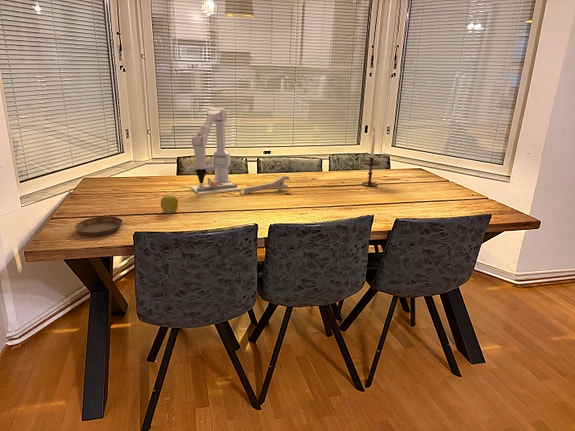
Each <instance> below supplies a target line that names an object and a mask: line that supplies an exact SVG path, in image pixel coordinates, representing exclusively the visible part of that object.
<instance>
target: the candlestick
mask: <svg viewBox="0 0 575 431" xmlns="http://www.w3.org/2000/svg"><path fill="white" fill-rule="evenodd" d="M372 128H373V134H372V135H371V144H370V145H371V146H370V156H368V158H369V159H364V160H362V161H361V163H362V164H363V165H366V166H368V167H369V171H368V172H367V175H368V176H367V178H368V181H363V182H362V183H361V186H363V187H365V188H375V187H377V186H378V183H376V182H372V178H373V176H372V175H373V174H374V173H373V172H372V170H373V167H374V166H380V165H381V164H382V163H381V161H379V160H374V159H375V158H376V157H375V156H374V155H375V145H376V144H375V143H376V133H375V132H376V131H375V130H376V129H375V127H374V126H373V127H372Z"/></svg>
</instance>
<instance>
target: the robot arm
mask: <svg viewBox="0 0 575 431" xmlns="http://www.w3.org/2000/svg"><path fill="white" fill-rule="evenodd" d="M227 116H228V115H227V111H226V109H225V108H224V107H223V108H221V107H220V108H218V107H208V108H207V109H206V118H205V120H204V124H203V125H200V127H199V129H198V131H197V133H196V135H194V136H192V138H191V145H192V149H193V152H194V153H193V154H194V165H192V166H187V167H186V171H187V172H193V171H194V172H195V173H196V176H197V178H198V182H199V184H204V180H205V177H206V174H207V170H214V178H213V180H216V181H217V182H218V183H226V182H231V180H230V179H229V167H230V166H231V163H232V159H231V153H229V151H227V150H226V130H225V128H226V127H225V123H227V120H228V118H227ZM213 124H215V132H216V133H215V134H216V135H215V136H216V151H214V152H213V155H212V163H213V164H207V162H206V159H207V158H206V157H207V156H206V146H207V145H208V140H209V139H208V138H209V135H210V133H211V127H212V126H213Z"/></svg>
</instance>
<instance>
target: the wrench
mask: <svg viewBox="0 0 575 431" xmlns="http://www.w3.org/2000/svg"><path fill="white" fill-rule="evenodd" d="M285 181H291V178H290V177H289V176H286V175H282V176H279V178H278V179H276V180H274V181H271V182H268V183H263V184H257V185H252V186H247V187H243V188H242V187H241V188H240V190H239V193H240V195H245V194H250V193H255V192H260V191H264V190H269V189H278V191H282V190H285V189H287V188H288V187H289V185H288V184H285V183H284V182H285ZM242 190H243V192H241V191H242Z"/></svg>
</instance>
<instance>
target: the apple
mask: <svg viewBox="0 0 575 431" xmlns="http://www.w3.org/2000/svg"><path fill="white" fill-rule="evenodd" d="M160 208H161V210H162V212H164V213H165V214H175V213H176V212H177V210H178V208H179V200H178V198H177V197H176V195H168V194H166V195H164V196H162V198H161V200H160Z"/></svg>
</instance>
